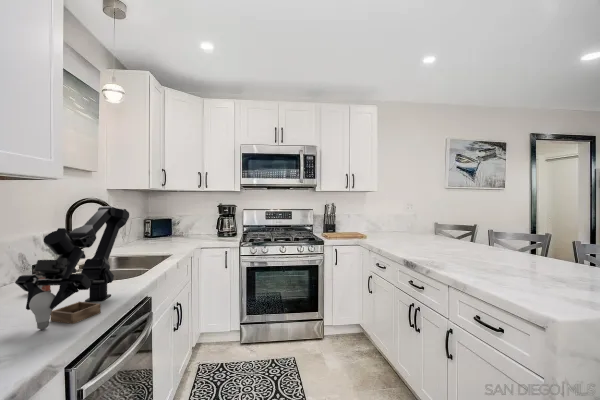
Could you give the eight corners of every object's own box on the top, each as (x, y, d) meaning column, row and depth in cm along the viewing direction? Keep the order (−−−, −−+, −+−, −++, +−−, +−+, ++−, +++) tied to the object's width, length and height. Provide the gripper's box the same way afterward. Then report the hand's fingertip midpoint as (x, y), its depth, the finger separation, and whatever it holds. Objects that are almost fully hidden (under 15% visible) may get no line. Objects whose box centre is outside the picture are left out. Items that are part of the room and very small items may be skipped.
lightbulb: (28, 329, 84) (28, 292, 84) (55, 323, 89) (56, 287, 89) (28, 336, 80) (29, 297, 80) (57, 329, 84) (57, 292, 84)
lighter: (53, 291, 121) (53, 267, 121) (45, 294, 117) (45, 269, 117) (36, 290, 121) (36, 267, 121) (27, 293, 118) (28, 269, 118)
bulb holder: (79, 310, 99) (79, 301, 99) (100, 312, 97) (100, 303, 97) (50, 320, 90) (50, 311, 91) (73, 323, 88) (73, 314, 88)
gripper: (20, 249, 87) (-16, 297, 76) (85, 247, 89) (59, 294, 78) (40, 268, 95) (10, 314, 84) (100, 267, 97) (78, 312, 86)
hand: (39, 308), depth 83 cm, fingers open, 6 cm apart
